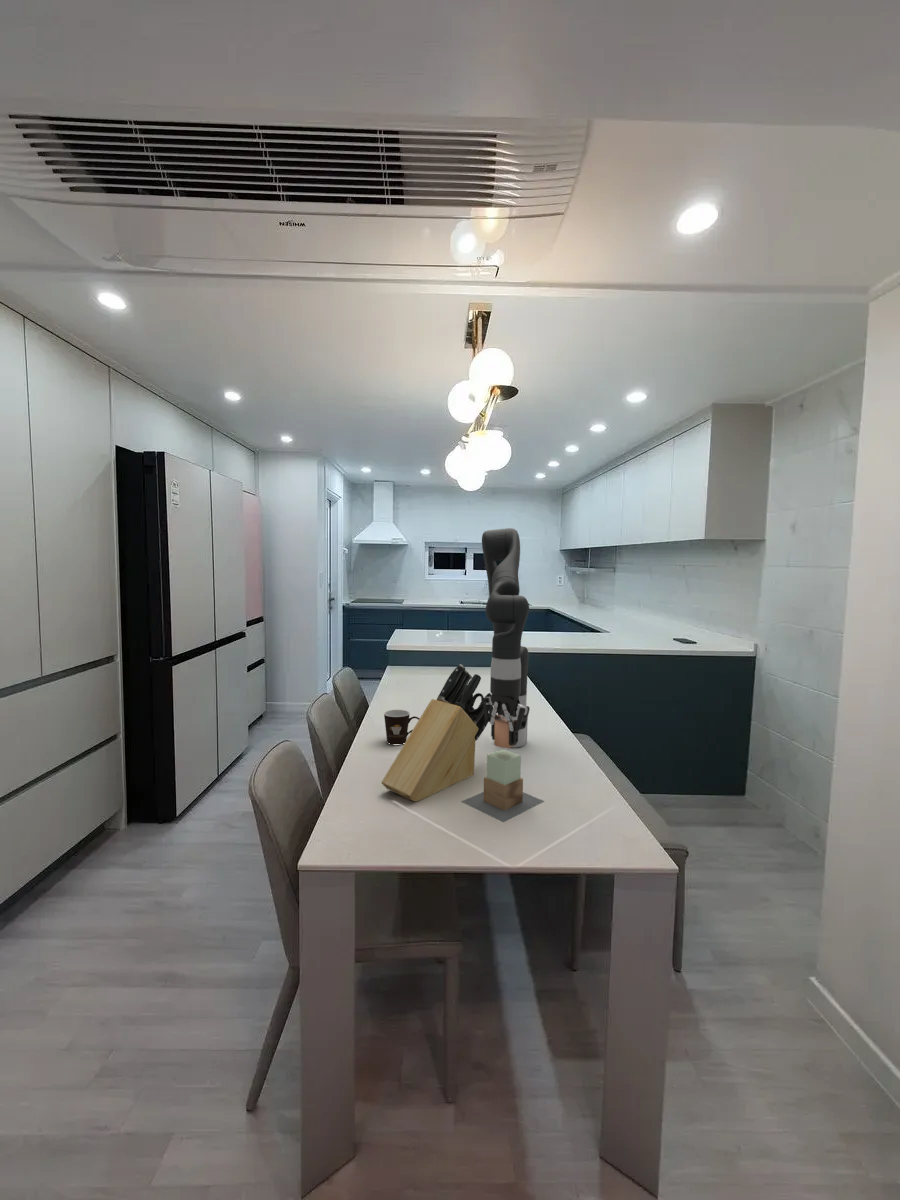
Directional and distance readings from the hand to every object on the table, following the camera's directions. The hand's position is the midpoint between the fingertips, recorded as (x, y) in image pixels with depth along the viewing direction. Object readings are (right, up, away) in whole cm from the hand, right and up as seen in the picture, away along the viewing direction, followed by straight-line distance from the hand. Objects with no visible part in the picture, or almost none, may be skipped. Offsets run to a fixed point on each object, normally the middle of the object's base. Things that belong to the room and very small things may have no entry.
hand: (504, 741), depth 130 cm
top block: (0, -9, +1) cm, 9 cm away
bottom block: (0, -15, +1) cm, 15 cm away
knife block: (-16, -15, +15) cm, 27 cm away
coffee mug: (-30, -13, +44) cm, 55 cm away
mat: (0, -16, +1) cm, 16 cm away
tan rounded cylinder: (0, -1, 0) cm, 1 cm away
